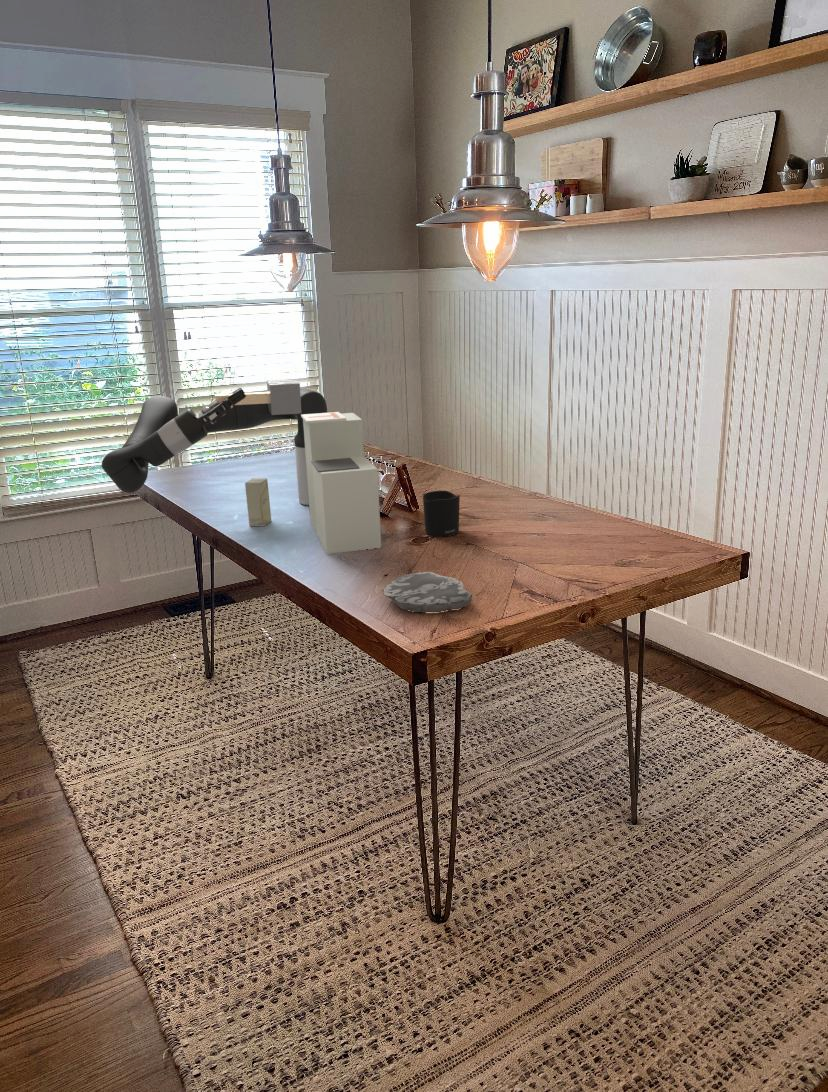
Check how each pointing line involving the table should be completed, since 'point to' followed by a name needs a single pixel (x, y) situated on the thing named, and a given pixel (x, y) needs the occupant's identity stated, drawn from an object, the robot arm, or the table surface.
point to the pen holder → (441, 513)
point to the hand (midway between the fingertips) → (243, 391)
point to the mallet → (274, 397)
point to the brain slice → (427, 592)
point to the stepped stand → (341, 483)
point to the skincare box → (258, 501)
